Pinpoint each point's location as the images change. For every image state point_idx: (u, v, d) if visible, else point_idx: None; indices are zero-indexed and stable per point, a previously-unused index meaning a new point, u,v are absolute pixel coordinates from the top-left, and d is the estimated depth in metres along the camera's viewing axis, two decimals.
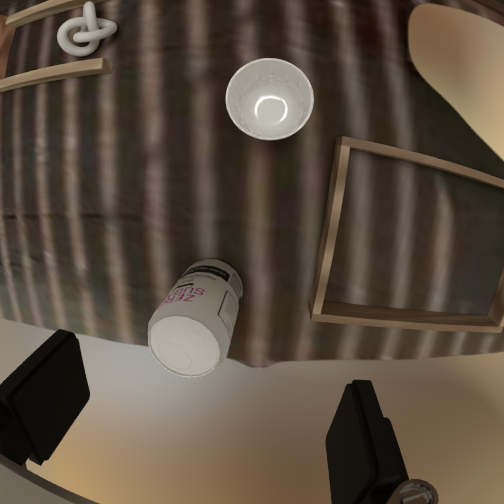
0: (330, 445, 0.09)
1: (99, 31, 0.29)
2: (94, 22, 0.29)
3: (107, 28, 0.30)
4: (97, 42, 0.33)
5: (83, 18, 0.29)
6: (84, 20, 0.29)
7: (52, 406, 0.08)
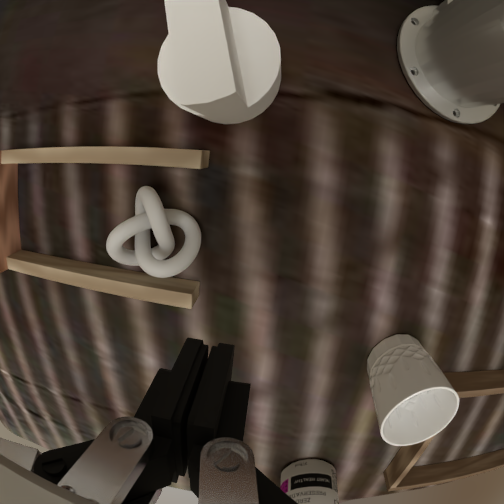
0: None
1: (183, 261, 0.26)
2: (170, 239, 0.26)
3: (192, 249, 0.27)
4: (172, 251, 0.29)
5: (145, 220, 0.26)
6: (147, 225, 0.26)
7: None
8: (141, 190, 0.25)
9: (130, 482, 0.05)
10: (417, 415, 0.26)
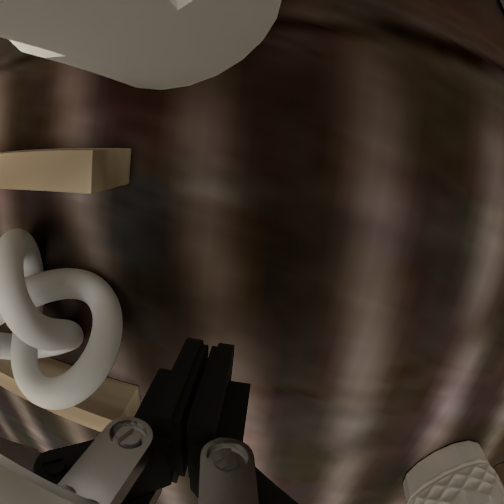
0: None
1: (81, 386, 0.11)
2: (52, 342, 0.10)
3: (99, 358, 0.12)
4: (80, 343, 0.14)
5: None
6: None
7: None
8: None
9: (130, 482, 0.05)
10: None
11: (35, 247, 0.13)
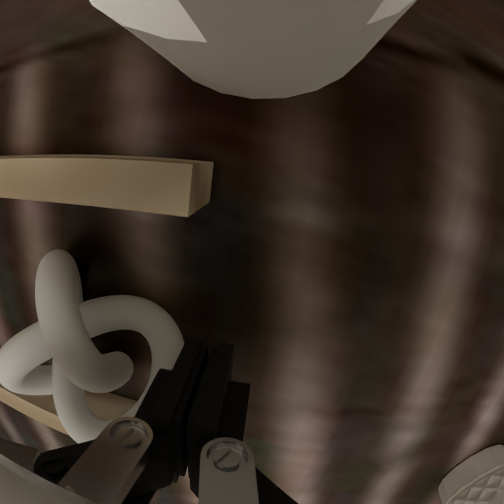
0: None
1: None
2: (113, 385, 0.10)
3: None
4: None
5: None
6: None
7: None
8: (38, 268, 0.09)
9: (130, 482, 0.05)
10: None
11: (77, 270, 0.12)
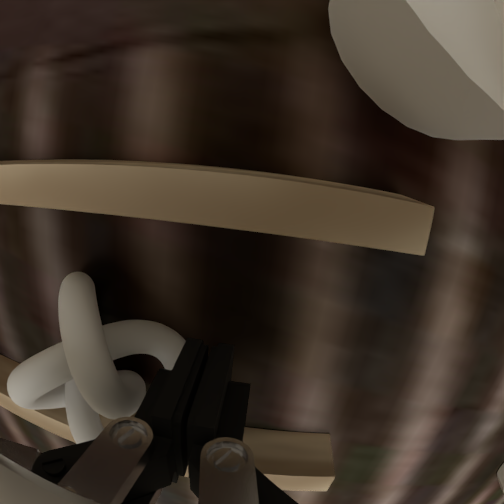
0: None
1: None
2: (133, 412, 0.10)
3: None
4: None
5: None
6: None
7: None
8: (61, 295, 0.09)
9: (130, 482, 0.05)
10: None
11: None
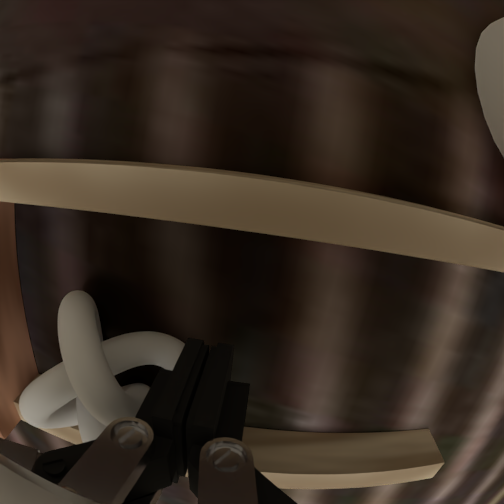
0: None
1: None
2: None
3: None
4: None
5: None
6: None
7: None
8: (59, 313, 0.09)
9: (131, 482, 0.05)
10: None
11: (96, 308, 0.12)
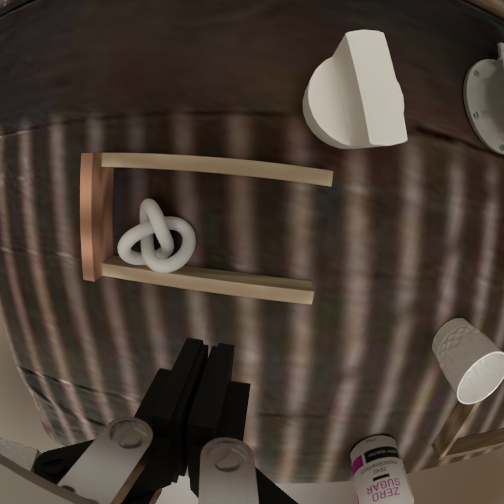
0: None
1: (181, 259, 0.32)
2: (170, 241, 0.31)
3: (188, 248, 0.33)
4: None
5: (148, 227, 0.32)
6: (150, 230, 0.32)
7: None
8: (144, 202, 0.31)
9: (130, 482, 0.05)
10: (474, 381, 0.32)
11: None
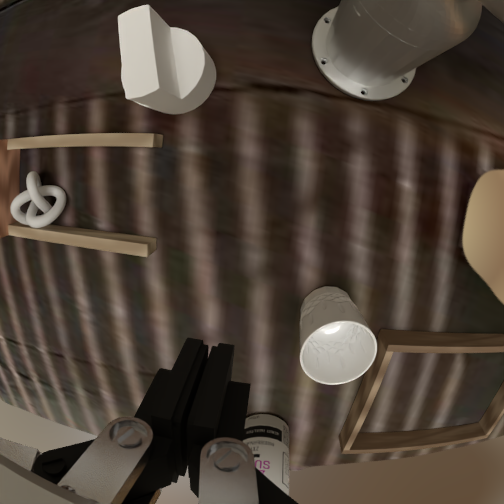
0: None
1: (48, 216, 0.34)
2: (41, 202, 0.34)
3: (55, 208, 0.35)
4: None
5: None
6: None
7: None
8: None
9: (130, 482, 0.05)
10: (345, 359, 0.34)
11: (39, 179, 0.36)
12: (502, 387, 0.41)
